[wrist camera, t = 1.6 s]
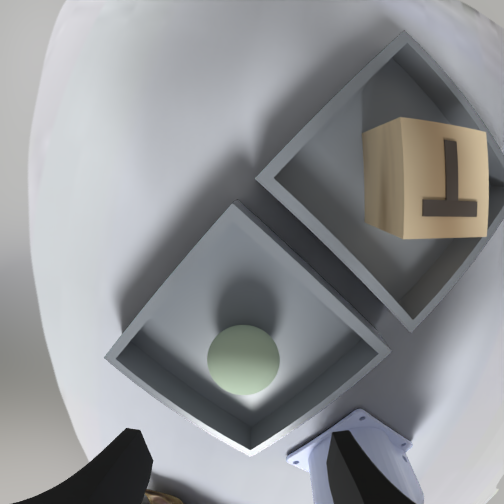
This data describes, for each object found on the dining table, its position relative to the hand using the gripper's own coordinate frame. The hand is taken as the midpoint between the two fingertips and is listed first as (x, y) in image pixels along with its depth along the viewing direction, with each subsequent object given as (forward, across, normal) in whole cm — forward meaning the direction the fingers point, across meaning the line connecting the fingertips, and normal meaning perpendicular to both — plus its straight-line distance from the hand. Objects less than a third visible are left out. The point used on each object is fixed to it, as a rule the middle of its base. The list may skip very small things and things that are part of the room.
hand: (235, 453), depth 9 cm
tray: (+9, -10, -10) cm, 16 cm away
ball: (+9, 0, 0) cm, 9 cm away
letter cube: (+9, -10, -10) cm, 16 cm away
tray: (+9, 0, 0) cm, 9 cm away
